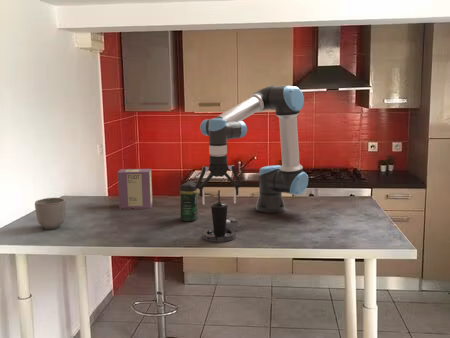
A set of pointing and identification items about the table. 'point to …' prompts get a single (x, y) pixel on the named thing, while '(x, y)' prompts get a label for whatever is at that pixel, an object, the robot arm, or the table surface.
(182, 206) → the coffee jar
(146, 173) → the box
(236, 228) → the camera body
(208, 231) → the plate
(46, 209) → the planter
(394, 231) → the table surface
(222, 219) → the drinking cup
